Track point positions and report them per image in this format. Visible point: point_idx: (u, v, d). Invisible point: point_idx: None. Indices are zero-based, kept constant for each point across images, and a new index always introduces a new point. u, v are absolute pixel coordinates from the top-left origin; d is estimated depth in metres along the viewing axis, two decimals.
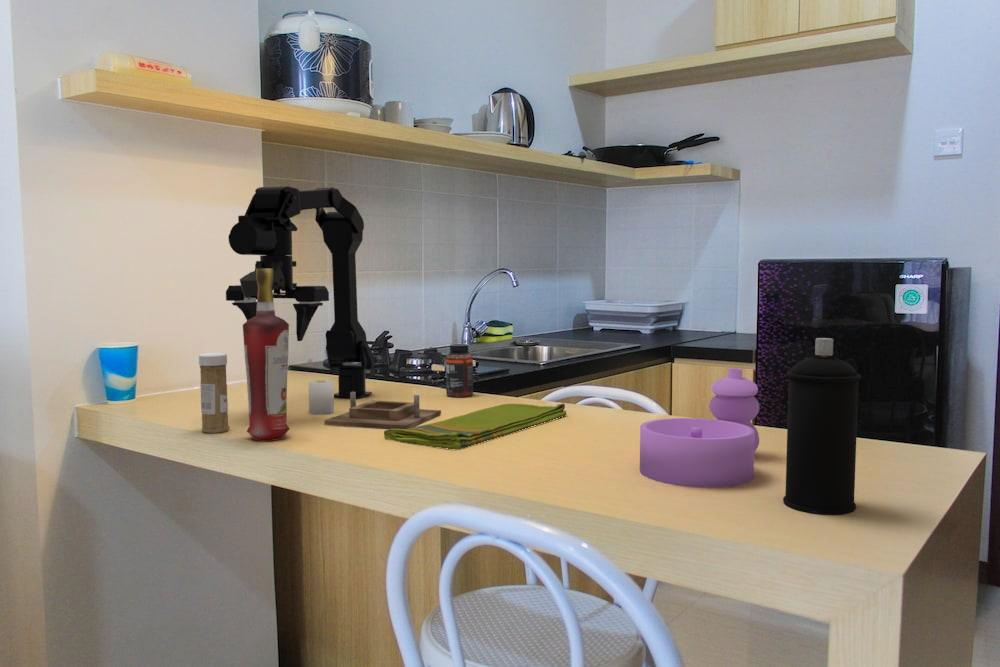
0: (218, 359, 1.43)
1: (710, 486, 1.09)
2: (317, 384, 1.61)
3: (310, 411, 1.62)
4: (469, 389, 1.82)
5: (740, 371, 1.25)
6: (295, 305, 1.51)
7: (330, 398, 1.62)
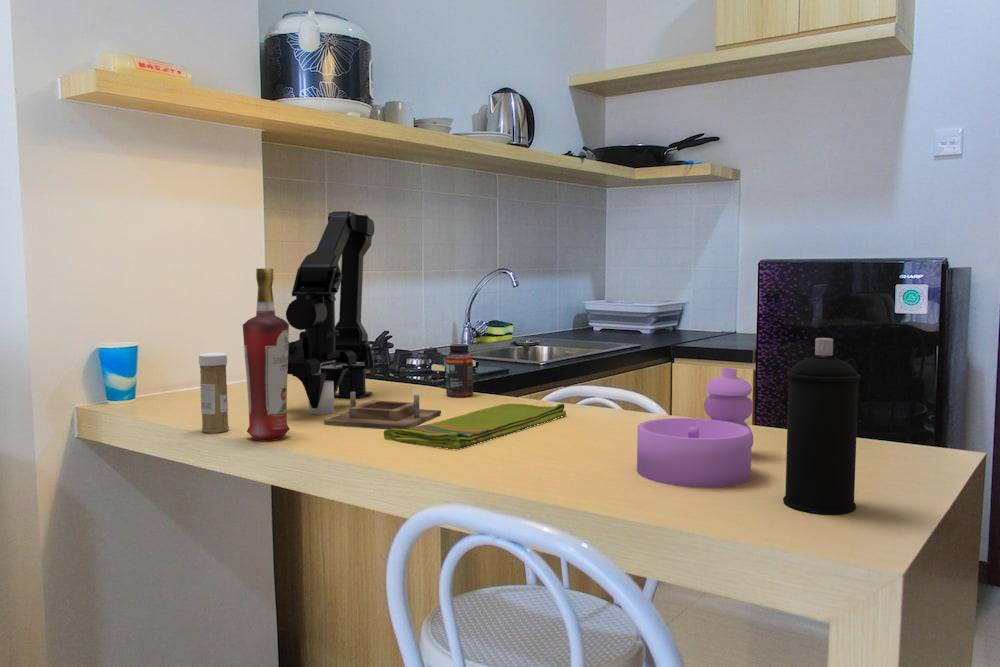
0: (218, 359, 1.42)
1: (709, 486, 1.09)
2: None
3: (310, 411, 1.62)
4: (469, 389, 1.82)
5: (734, 371, 1.26)
6: None
7: (330, 398, 1.62)
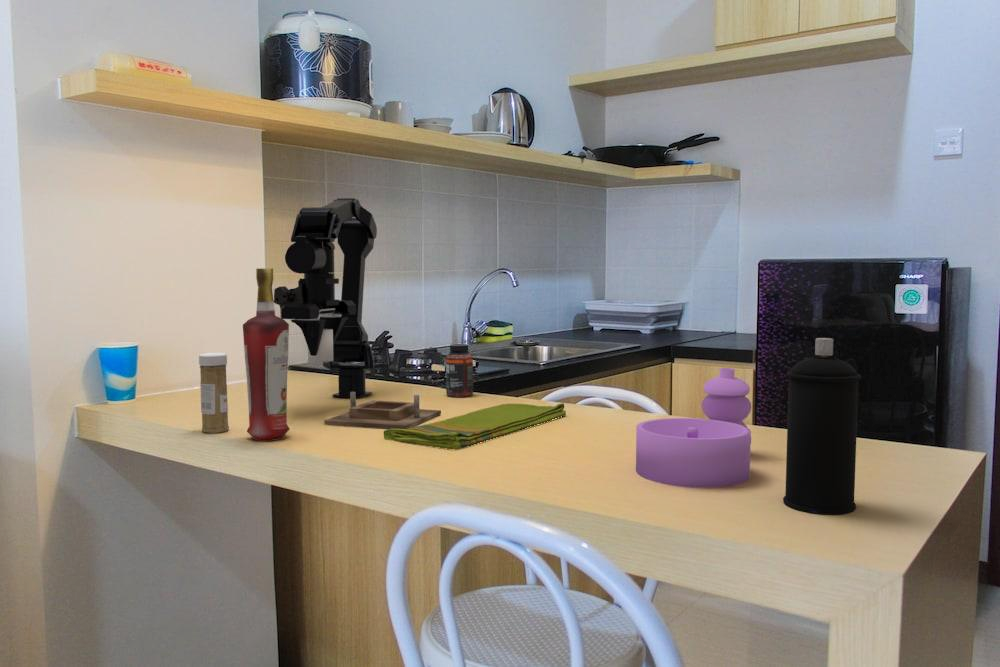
0: (218, 359, 1.42)
1: (708, 486, 1.09)
2: None
3: (309, 359, 1.61)
4: (469, 389, 1.82)
5: (732, 371, 1.26)
6: None
7: (329, 346, 1.61)
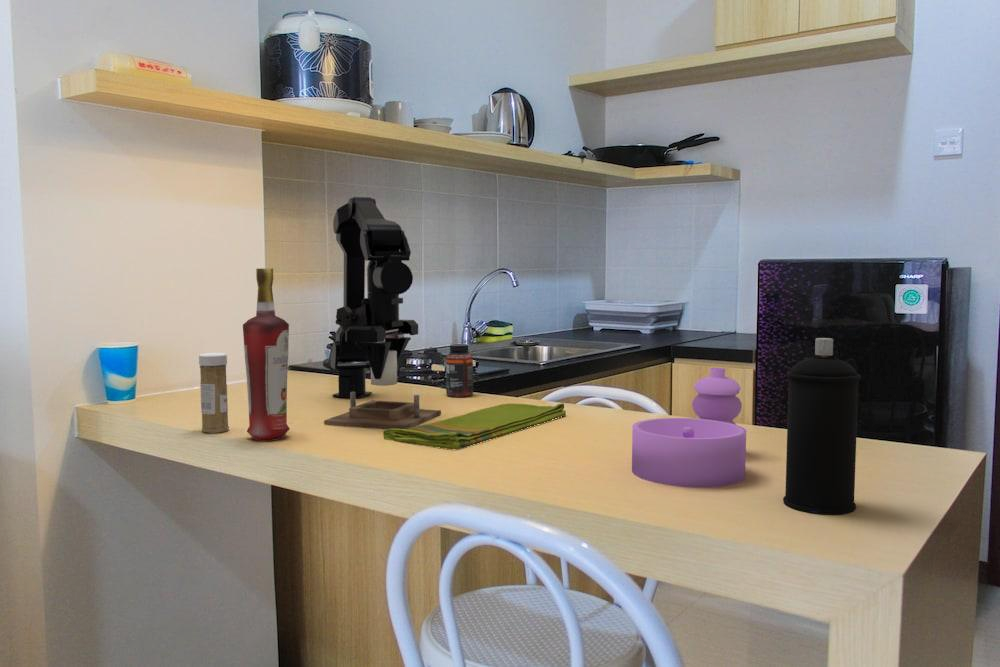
0: (218, 359, 1.42)
1: (707, 485, 1.09)
2: None
3: (373, 382, 1.54)
4: (469, 389, 1.82)
5: (723, 370, 1.26)
6: None
7: (393, 369, 1.54)
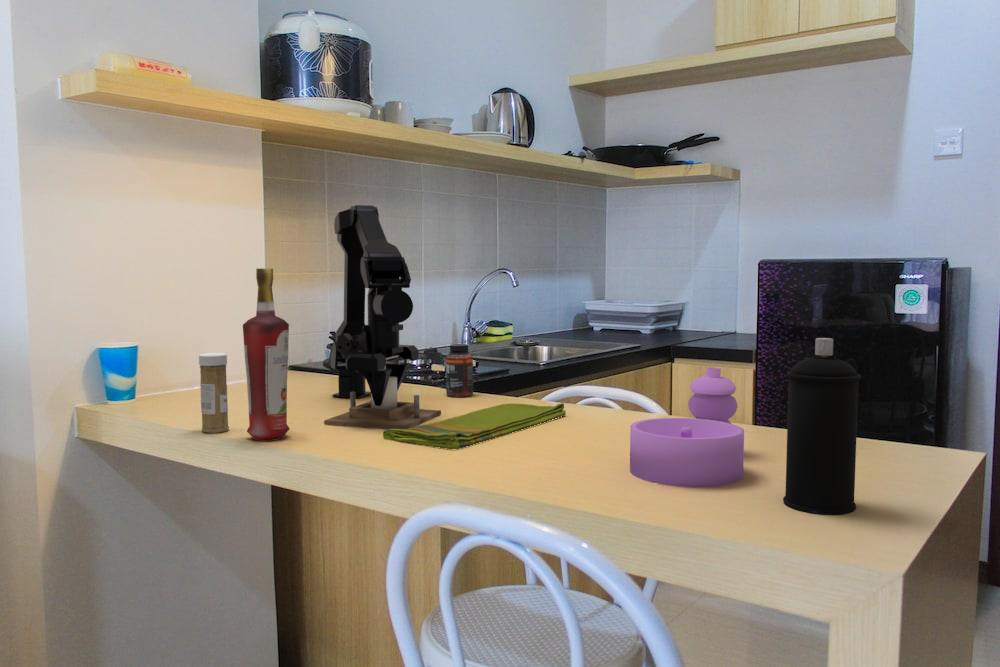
0: (218, 359, 1.43)
1: (707, 485, 1.09)
2: None
3: None
4: (469, 389, 1.82)
5: (719, 370, 1.27)
6: None
7: (394, 395, 1.54)
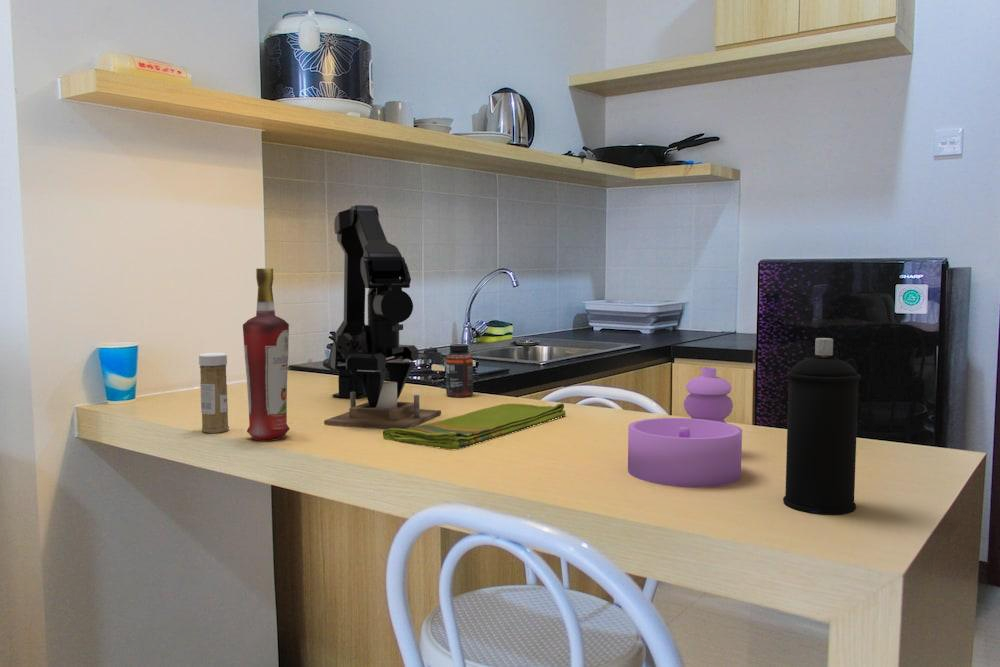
0: (218, 359, 1.42)
1: (706, 485, 1.09)
2: None
3: None
4: (469, 389, 1.82)
5: (714, 370, 1.27)
6: None
7: (394, 400, 1.54)
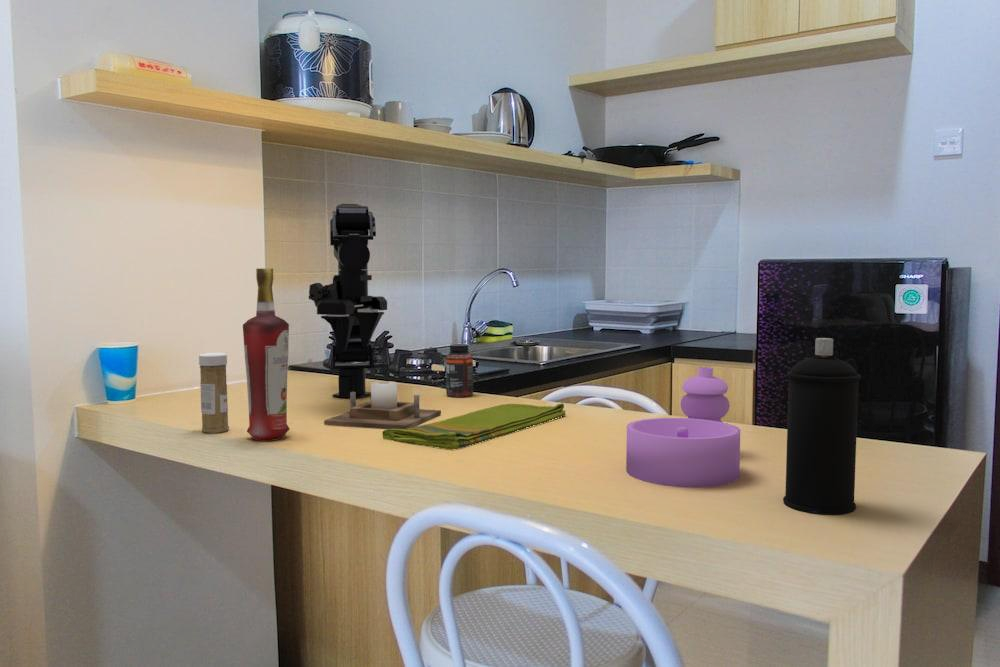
0: (218, 359, 1.42)
1: (706, 485, 1.09)
2: (381, 385, 1.53)
3: None
4: (469, 389, 1.82)
5: (711, 370, 1.27)
6: None
7: (394, 400, 1.54)
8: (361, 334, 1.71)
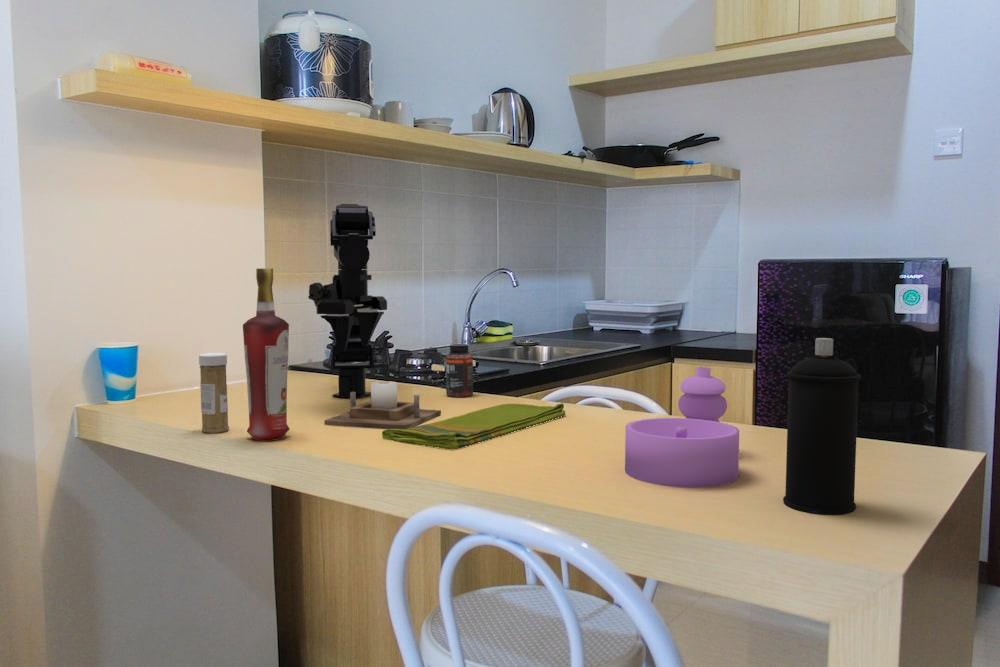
0: (218, 359, 1.42)
1: (705, 485, 1.09)
2: (381, 385, 1.53)
3: None
4: (469, 389, 1.82)
5: (709, 370, 1.27)
6: None
7: (394, 400, 1.54)
8: (361, 333, 1.71)
